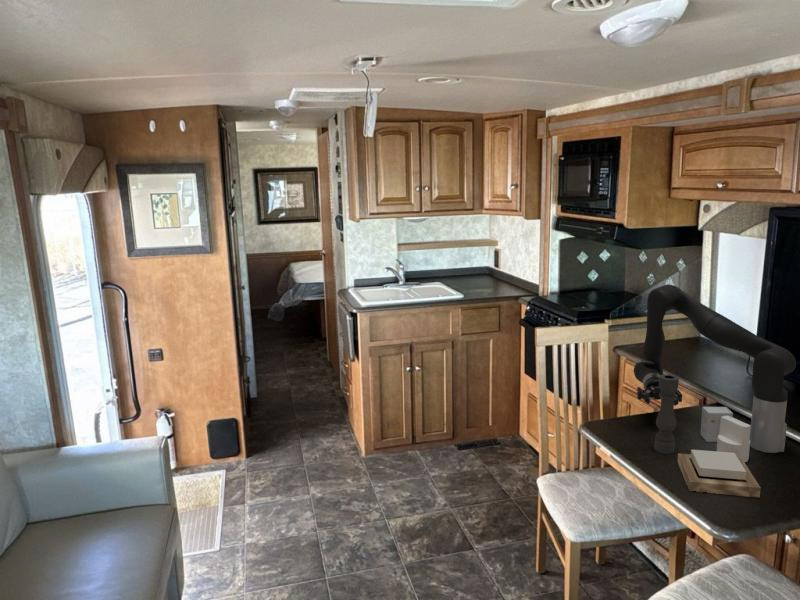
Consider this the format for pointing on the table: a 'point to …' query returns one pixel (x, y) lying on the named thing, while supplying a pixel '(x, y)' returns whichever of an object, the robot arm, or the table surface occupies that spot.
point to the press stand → (717, 481)
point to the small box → (712, 422)
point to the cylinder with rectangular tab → (734, 437)
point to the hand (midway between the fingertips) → (662, 402)
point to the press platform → (718, 464)
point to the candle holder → (666, 415)
